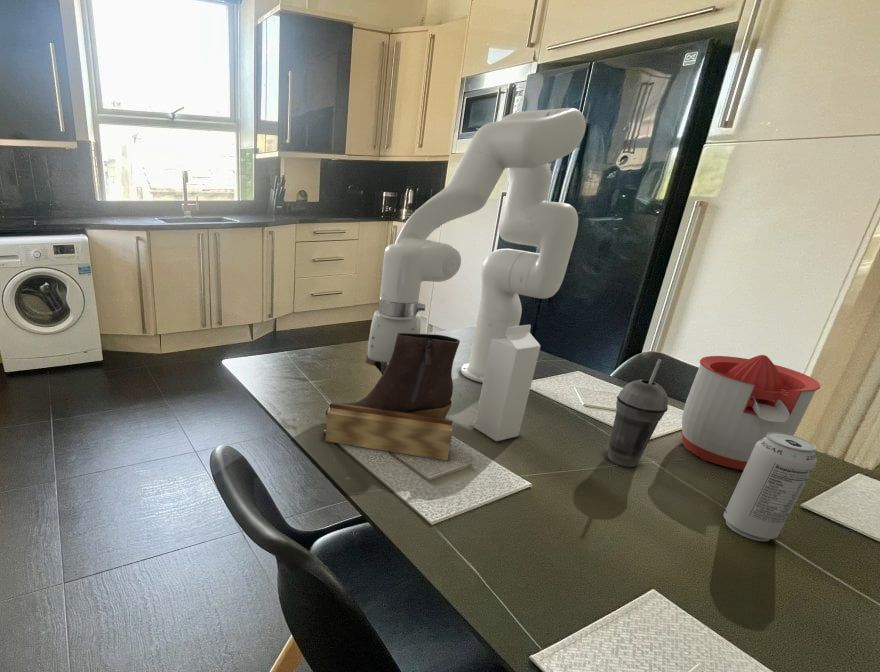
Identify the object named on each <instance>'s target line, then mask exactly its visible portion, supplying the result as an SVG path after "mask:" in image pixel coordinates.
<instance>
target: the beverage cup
mask: <svg viewBox="0 0 880 672" xmlns="http://www.w3.org/2000/svg"><path fill="white" fill-rule="evenodd" d="M661 363H662V359H661V358H658V359H657V361H656V363H655V366H654V369H653V371H652V373H651V376H650V379H637V380H633V381H631V382H628V383H627V384H626V385H624V386H623V387H622V389H621V390H620V391H619V393H618V395H617V396H616V399H617V400H616V404H615V408H616V412H615V416H614V420H613V426H612V431H611V435H610V440H609V445H608V453H607V459H609V460H610V461H611V462H612V463H615V464H616V465H620V466H623V467H627V468H633V467H636V466H638V463H639V461H640V460H641V458H642V457H643V456H642V455H643V454H644V452H645V450H646V449H647V446H648V444H649V442H650V441H651V438H652V436H653V434H654V433H655V430H656V428H657V426H658V424H659V422H660V421H661V420H662V418H663V417H664V416H665V413H666V412H667V411H668V410H669V408H668V407H669V397H668V394H667V392H666V390H665V389H664V388H663V387H662V386H661V385H660V384H659V383H657V382H655V381H654V380H655V378H656V375H657V372H658V370H659V368H660V365H661Z"/></svg>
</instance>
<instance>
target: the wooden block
mask: <svg viewBox="0 0 880 672" xmlns="http://www.w3.org/2000/svg"><path fill="white" fill-rule="evenodd" d="M329 407H330V408H329ZM329 407H328V408H329V410H328V409H327V410H328V413H327V422H326V424H325V425H326V426H325V427H326V428H325V439H324V440H325V442H328V443H333V444H334V443H336V444H341V445H347V446H354V447H358V448H359V447H360V448H367V449H373V450H379V451H385V452H391V453H397V454H404V455H410V456H416V457H423V458H429V459H433V460H435V459H436V460H442V461H448V459H449V453H450V448H451V444H452V443H451V442H452V438H453V432H454V429H453V422H454V421H453V419H452V418H446V417H445V418H439V417H432V416H425V415H418V414H411V413H403V412H396V411H389V410H382V409H375V408H368V407H361V406H353V405H346V404H340V403H338V402H331V401H330V402H329Z"/></svg>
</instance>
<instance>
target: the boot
mask: <svg viewBox="0 0 880 672" xmlns="http://www.w3.org/2000/svg"><path fill="white" fill-rule="evenodd" d="M460 342H461V340H460V339H458V338H455V337H451V336H447V335H442V334H429V333H420V334H412V333H398V334H397V338H396V342H395V347H394V351H393V354H392V357H391V359H390V361H389V362H388V366H387V368H386V370H385V371H384V373H383V375H382V374H381V376H380V378H379V379H378V381H377V382H376V384H375V385H374V387H373V388H372V389H371V390H370V392H369V393H368V394H367V395H366V396H365V397H364V398H362V399H360V400H358V401H355V402H354V401H353V402H342V403H341V402H340V403H339V404H346V405H353V406H361V407H368V408H375V409H382V410H389V411H396V412H403V413H411V414H418V415H425V416H432V417H439V418H446V417H447V415H448V413H449V412H450V410H451V408H452V403H453V402H452V398H453V397H452V396H453V393H454V382H453V375H452V372H453V365H454V361H455V358H456V357H455V356H456V354H457V351H458V348H459V346H460ZM329 408H330V406H329V407H328V408H327V409H326V410H325V412H324V413H323V414H324V415H323V419H324V420H325V422H326V423H327V413H328V410H329Z"/></svg>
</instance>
